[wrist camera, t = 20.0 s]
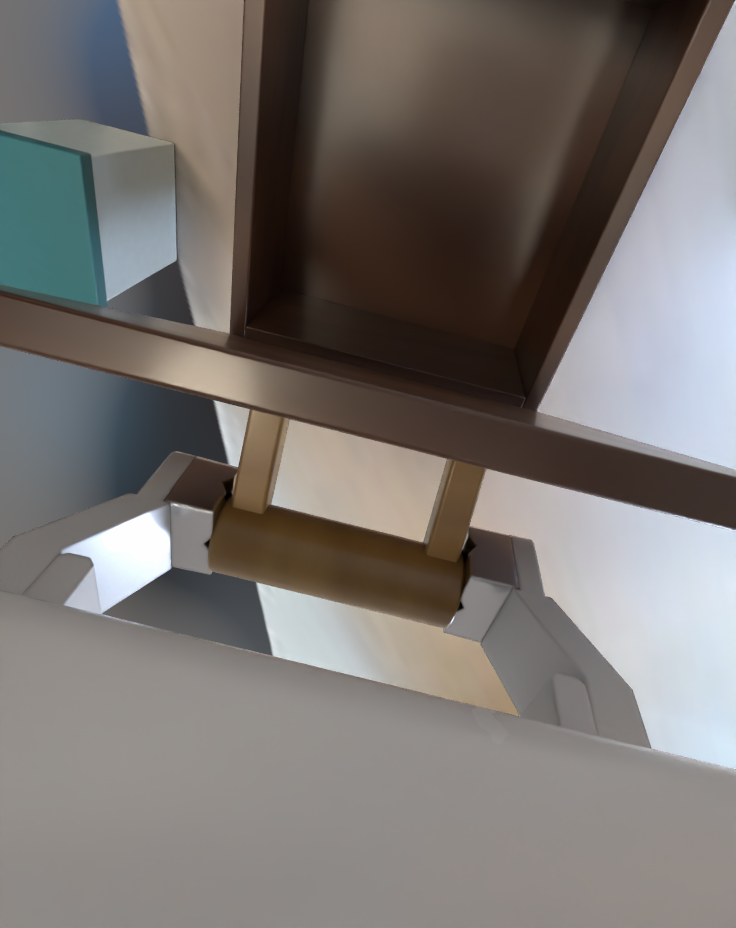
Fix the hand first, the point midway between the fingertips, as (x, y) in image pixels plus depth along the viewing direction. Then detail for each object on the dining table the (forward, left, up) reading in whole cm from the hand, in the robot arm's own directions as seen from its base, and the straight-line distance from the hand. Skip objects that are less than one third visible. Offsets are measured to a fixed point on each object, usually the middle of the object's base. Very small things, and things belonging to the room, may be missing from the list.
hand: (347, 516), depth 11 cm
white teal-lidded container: (0, -16, -21) cm, 26 cm away
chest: (-5, 0, -21) cm, 22 cm away
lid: (-1, 0, -6) cm, 6 cm away
